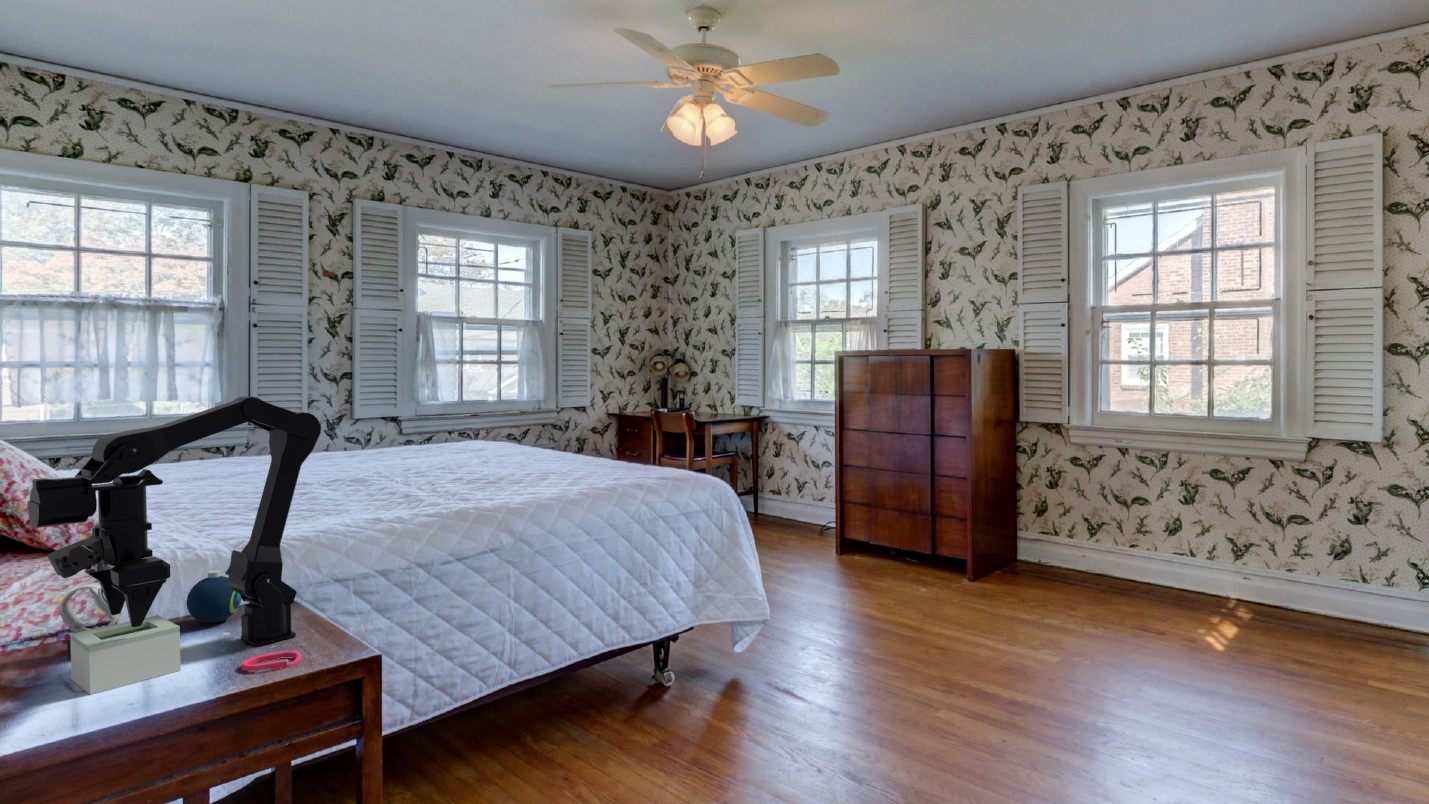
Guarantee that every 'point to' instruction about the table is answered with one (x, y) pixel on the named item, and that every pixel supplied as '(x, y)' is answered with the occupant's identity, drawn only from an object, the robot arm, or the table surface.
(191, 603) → the christmas ornament
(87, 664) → the coin box
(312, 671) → the table surface
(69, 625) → the watch
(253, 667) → the fitness band
